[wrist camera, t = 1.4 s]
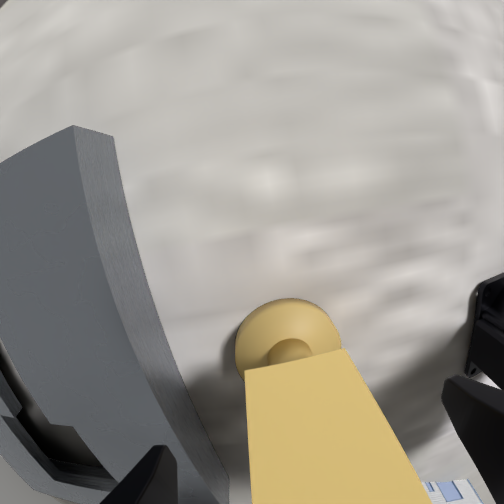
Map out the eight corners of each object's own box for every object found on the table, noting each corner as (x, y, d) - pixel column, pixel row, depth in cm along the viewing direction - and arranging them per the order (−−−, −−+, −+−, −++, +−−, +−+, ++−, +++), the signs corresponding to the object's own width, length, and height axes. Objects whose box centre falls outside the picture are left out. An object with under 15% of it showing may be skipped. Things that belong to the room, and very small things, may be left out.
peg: (330, 288, 12) (469, 474, 3) (337, 370, 13) (417, 541, 4) (224, 310, 12) (211, 547, 3) (246, 390, 13) (260, 581, 4)
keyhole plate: (113, 136, 10) (73, 125, 7) (229, 477, 15) (229, 516, 12) (-70, 232, 10) (-101, 243, 7) (46, 464, 15) (33, 489, 12)
